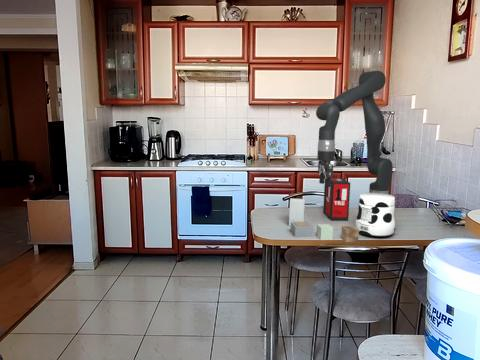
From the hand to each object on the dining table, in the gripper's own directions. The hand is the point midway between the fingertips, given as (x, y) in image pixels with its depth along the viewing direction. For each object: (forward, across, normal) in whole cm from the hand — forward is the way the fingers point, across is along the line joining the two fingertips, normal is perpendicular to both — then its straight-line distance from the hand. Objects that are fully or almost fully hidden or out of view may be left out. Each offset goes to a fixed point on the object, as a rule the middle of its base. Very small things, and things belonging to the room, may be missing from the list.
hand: (324, 185), depth 180 cm
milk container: (+23, -4, -24) cm, 33 cm away
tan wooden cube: (+23, -11, -9) cm, 27 cm away
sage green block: (+23, -7, +1) cm, 24 cm away
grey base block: (+23, -2, +11) cm, 25 cm away
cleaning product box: (+23, +27, -16) cm, 39 cm away
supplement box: (+23, +14, +9) cm, 28 cm away
